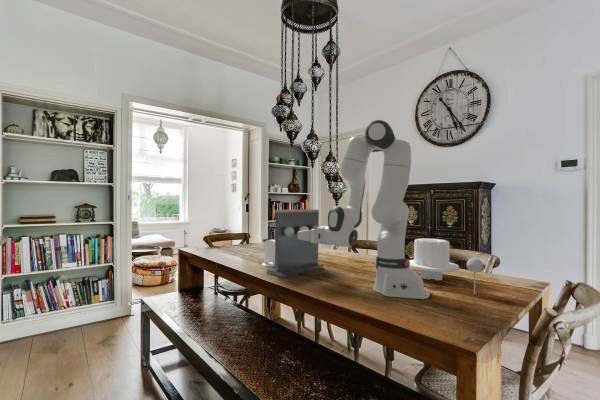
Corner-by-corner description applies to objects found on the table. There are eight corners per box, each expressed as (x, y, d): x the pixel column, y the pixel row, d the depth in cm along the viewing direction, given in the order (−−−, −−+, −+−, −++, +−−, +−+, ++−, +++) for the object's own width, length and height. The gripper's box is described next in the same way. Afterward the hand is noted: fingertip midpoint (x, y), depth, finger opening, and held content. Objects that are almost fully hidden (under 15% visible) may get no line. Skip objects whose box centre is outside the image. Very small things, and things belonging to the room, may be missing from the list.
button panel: (323, 268, 174) (324, 209, 175) (283, 277, 151) (283, 210, 151) (307, 264, 182) (308, 209, 183) (267, 273, 159) (267, 209, 159)
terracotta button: (320, 234, 171) (320, 225, 172) (315, 234, 168) (315, 225, 168) (316, 233, 174) (316, 225, 174) (310, 234, 170) (311, 225, 170)
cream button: (308, 235, 164) (308, 226, 164) (302, 235, 161) (302, 226, 161) (304, 234, 166) (304, 226, 166) (298, 235, 163) (298, 226, 163)
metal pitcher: (285, 264, 184) (285, 239, 184) (274, 267, 174) (274, 241, 174) (269, 262, 190) (269, 237, 190) (257, 265, 180) (258, 239, 180)
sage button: (294, 236, 158) (294, 227, 158) (287, 237, 154) (287, 227, 154) (289, 235, 160) (290, 226, 160) (283, 236, 156) (283, 227, 156)
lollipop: (476, 297, 122) (477, 259, 122) (463, 293, 127) (463, 257, 127) (486, 295, 124) (486, 258, 125) (472, 291, 130) (472, 256, 130)
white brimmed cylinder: (408, 270, 171) (408, 236, 171) (458, 275, 160) (458, 239, 161) (402, 280, 149) (402, 241, 149) (460, 286, 138) (460, 244, 138)
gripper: (338, 227, 152) (316, 225, 161) (311, 229, 136) (289, 227, 146) (337, 239, 151) (316, 237, 161) (311, 243, 136) (289, 240, 146)
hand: (303, 232), depth 153 cm, fingers closed
